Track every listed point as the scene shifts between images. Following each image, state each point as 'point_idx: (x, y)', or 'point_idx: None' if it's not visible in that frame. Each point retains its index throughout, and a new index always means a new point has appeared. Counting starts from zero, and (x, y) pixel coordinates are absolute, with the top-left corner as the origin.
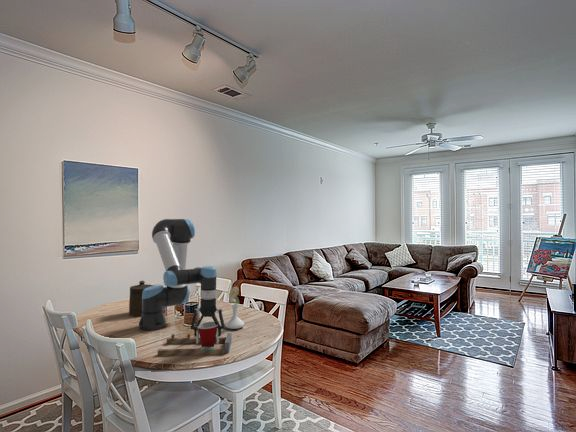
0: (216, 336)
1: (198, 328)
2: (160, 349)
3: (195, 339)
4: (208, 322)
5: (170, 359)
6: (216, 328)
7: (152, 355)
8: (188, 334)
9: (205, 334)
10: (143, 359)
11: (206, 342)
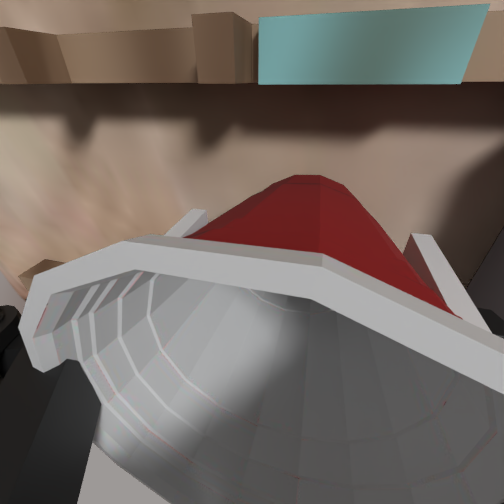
0: (439, 59)
1: (133, 437)
2: (28, 280)
3: (139, 82)
4: (207, 275)
5: None
6: (441, 493)
7: (28, 263)
8: (4, 64)
9: (260, 411)
10: (28, 292)
11: (287, 324)
